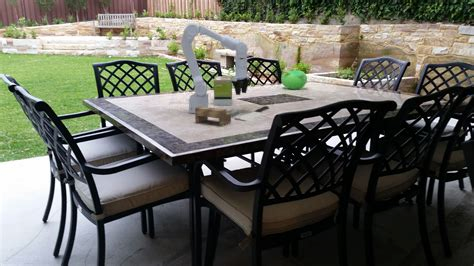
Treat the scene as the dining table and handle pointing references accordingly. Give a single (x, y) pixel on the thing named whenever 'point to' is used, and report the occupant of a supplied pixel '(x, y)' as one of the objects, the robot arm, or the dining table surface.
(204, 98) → the robot arm
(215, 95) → the tea box
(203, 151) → the dining table surface
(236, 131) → the dining table surface
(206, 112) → the wooden bridge block
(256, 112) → the kitchen cleaver
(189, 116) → the dining table surface
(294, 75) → the green cabbage
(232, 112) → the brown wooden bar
